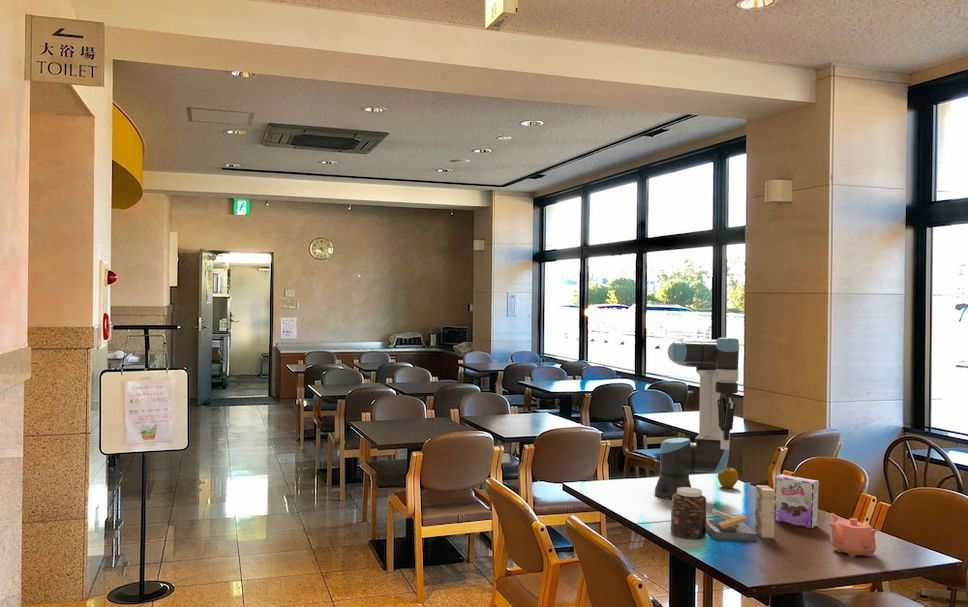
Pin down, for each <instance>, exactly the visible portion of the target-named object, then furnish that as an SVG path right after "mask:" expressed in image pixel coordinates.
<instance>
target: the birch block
mask: <svg viewBox="0 0 968 607" xmlns="http://www.w3.org/2000/svg"><path fill="white" fill-rule="evenodd" d="M754 493H755V494H754V496H755V497H754V499H755V500H754V523H753V524H754V527H753V529H754V530H753V531H755V532H756V533H757V536H759V537H760V538H763V539H764V538H765V539H774V538H775V537H774V536H775V534H774V533H775V532H774V531H775V520H774V508H775V489H773V488H772V487H770V486H769V485H759V484H758V485H757V484H756V485H755V492H754Z"/></svg>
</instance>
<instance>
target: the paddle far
mask: <svg viewBox="0 0 968 607" xmlns="http://www.w3.org/2000/svg"><path fill="white" fill-rule="evenodd" d="M711 513H712V514H714V515H715V516H718V517H720V518H722V519H727V520H728V519H731V518H734V517H735V516H732V515H730V514H727V513H725V512H723V511H720V510H718V509H715V508H712V510H711Z"/></svg>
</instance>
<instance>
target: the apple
mask: <svg viewBox="0 0 968 607" xmlns="http://www.w3.org/2000/svg"><path fill="white" fill-rule="evenodd" d="M717 480H718V482H719V485H720V486H721V487H722V488H724V489H731V488H732V489H733V488H734V486H736V484H737V483H738V480H739V474H738V472H737V470H736V469H735V468H733V467H728V466H727V467H726V469H725V471H724V472H723V473H717Z"/></svg>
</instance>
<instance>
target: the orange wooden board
mask: <svg viewBox="0 0 968 607" xmlns="http://www.w3.org/2000/svg"><path fill="white" fill-rule="evenodd" d="M733 517H734V518H731V519H727V520H725V521H722V520H721V521H722V522H719V523H718V525H719V527H720V528H721V529H724V528H727V527H730V526H733V525H736V524H739V523H742V522H743V523H745V522H748V518H747V516H745V514H740V515H738V516H733Z"/></svg>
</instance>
